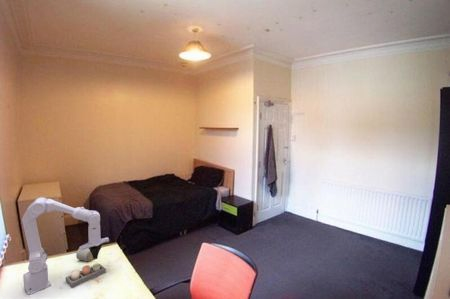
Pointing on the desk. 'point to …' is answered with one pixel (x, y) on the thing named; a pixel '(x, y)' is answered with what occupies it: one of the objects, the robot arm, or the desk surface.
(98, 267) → the button sage
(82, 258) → the ceramic mug
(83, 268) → the button terracotta
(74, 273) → the button cream
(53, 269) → the desk surface
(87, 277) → the panel
